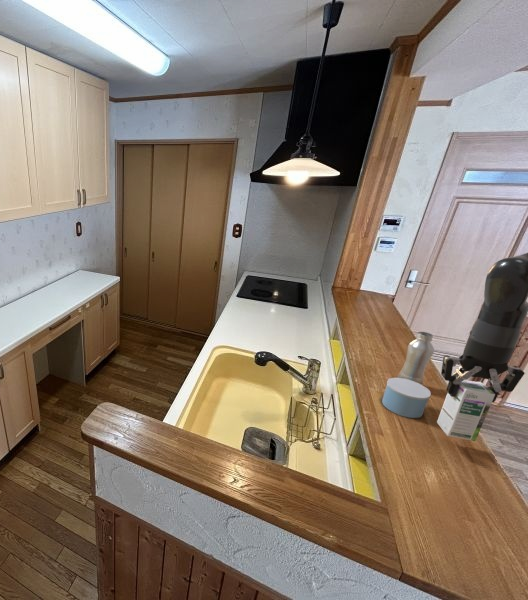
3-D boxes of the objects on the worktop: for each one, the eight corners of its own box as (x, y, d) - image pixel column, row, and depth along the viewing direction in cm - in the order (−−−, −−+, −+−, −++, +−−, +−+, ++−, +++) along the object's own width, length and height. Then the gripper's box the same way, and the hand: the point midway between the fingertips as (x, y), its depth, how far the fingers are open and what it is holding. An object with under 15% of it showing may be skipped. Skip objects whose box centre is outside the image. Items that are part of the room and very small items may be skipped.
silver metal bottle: (398, 377, 117) (414, 327, 110) (422, 386, 112) (441, 334, 105) (393, 384, 113) (409, 333, 106) (418, 393, 108) (437, 340, 101)
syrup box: (447, 436, 84) (466, 389, 79) (435, 421, 89) (452, 376, 84) (475, 442, 82) (497, 394, 77) (461, 426, 87) (481, 380, 82)
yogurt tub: (417, 402, 104) (424, 382, 101) (428, 422, 95) (436, 401, 93) (378, 393, 108) (383, 374, 106) (385, 412, 100) (391, 392, 97)
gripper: (458, 340, 76) (437, 399, 82) (546, 352, 70) (517, 415, 76) (446, 328, 82) (427, 383, 88) (526, 338, 76) (500, 397, 82)
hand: (468, 398), depth 82 cm, fingers closed on syrup box, 6 cm apart
